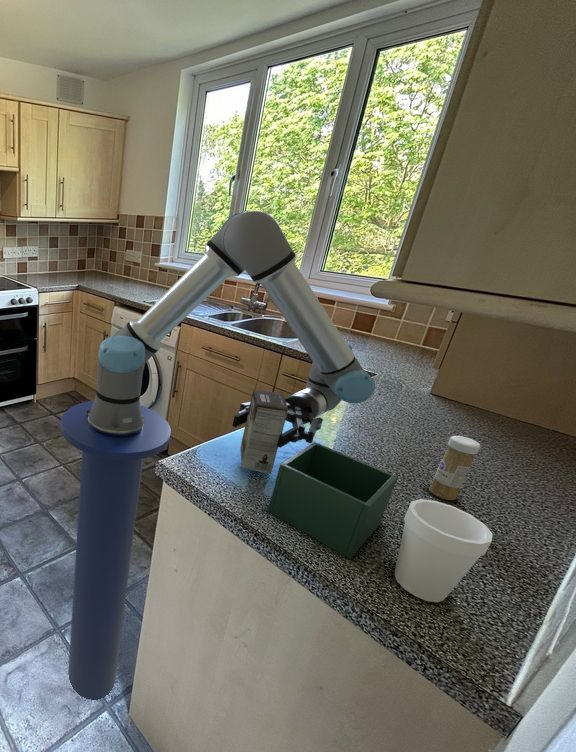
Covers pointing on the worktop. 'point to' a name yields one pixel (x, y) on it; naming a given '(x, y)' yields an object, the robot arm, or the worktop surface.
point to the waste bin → (331, 497)
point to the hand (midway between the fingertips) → (256, 431)
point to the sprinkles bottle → (454, 467)
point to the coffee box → (263, 430)
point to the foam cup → (438, 548)
